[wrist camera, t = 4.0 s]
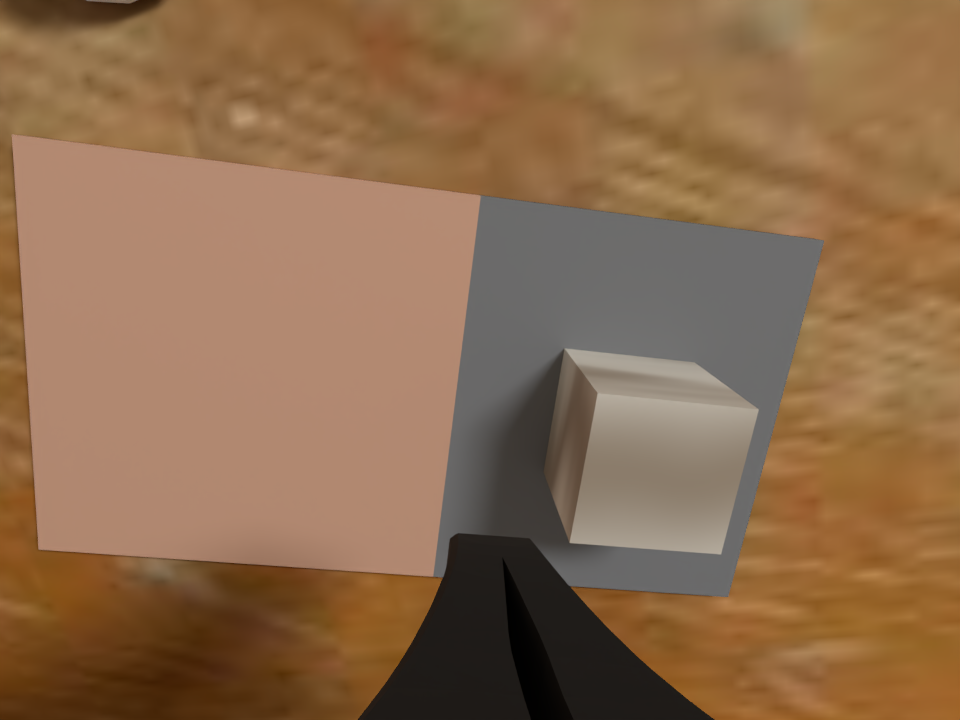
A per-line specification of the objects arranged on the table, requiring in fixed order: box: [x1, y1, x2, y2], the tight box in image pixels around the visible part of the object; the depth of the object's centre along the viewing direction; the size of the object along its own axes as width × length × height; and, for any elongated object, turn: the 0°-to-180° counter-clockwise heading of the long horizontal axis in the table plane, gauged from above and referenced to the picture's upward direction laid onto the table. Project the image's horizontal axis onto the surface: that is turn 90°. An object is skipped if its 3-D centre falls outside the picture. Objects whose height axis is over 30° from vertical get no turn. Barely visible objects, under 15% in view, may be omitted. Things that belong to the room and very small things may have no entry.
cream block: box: [544, 348, 759, 554], centre depth 18 cm, size 4×4×4 cm
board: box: [12, 135, 824, 597], centre depth 19 cm, size 12×22×1 cm, turn 83°
